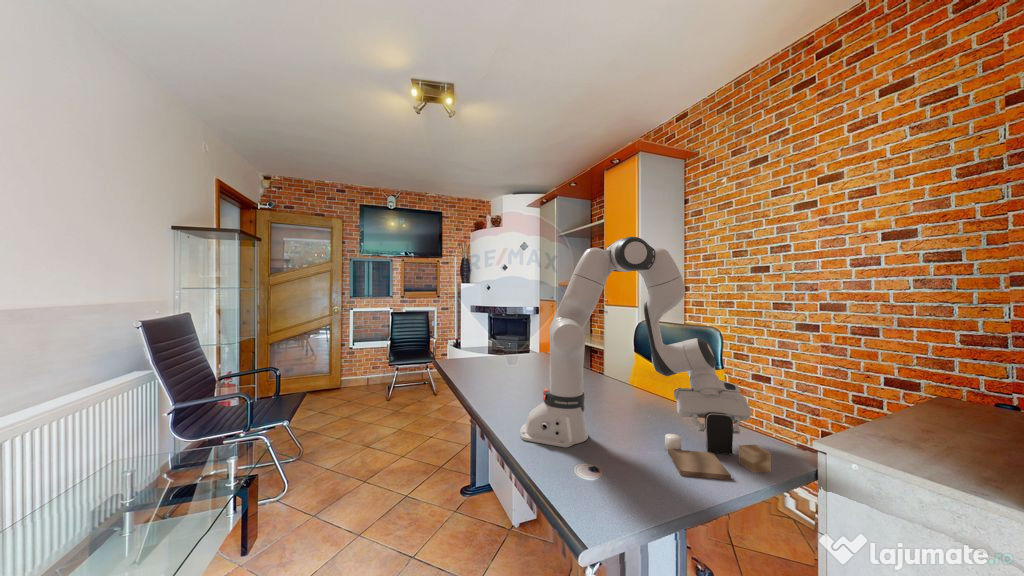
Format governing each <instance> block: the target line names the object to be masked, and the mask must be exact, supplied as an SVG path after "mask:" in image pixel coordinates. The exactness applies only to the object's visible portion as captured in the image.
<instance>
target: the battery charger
mask: <svg viewBox="0 0 1024 576" xmlns="http://www.w3.org/2000/svg"><path fill="white" fill-rule="evenodd" d="M733 426H734V423H733V421H732V418H731V417H730V416H728V415H727V414H725V413H718V412H708V413H706V415H705V418H704V427H705V441H706V442H705V443H706V444H705V447H706V448H705V449H706V452H711V453H713V454H719V455H720V454H721V455H733V440H734V439H733V438H734V434H733Z"/></svg>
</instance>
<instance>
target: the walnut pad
mask: <svg viewBox="0 0 1024 576" xmlns="http://www.w3.org/2000/svg"><path fill="white" fill-rule="evenodd" d="M667 453H668V456H669V457H670V459H671V461H672V462H673V465H674V467H675V469H676V470H677V471H678V474H679V476H687V477H698V478H709V479H716V480H717V479H718V480H730V481H731V480H732V475H731V473H730V472H729V470H727V469H726V467H725V466H724V464H722V462H721V461H720V460H719V458H718V457H717V456H716V455H715V453H712V452H708V451H698V450H685V449H681V450H674V449H668V451H667Z"/></svg>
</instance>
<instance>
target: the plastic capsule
mask: <svg viewBox="0 0 1024 576" xmlns="http://www.w3.org/2000/svg"><path fill="white" fill-rule="evenodd" d="M668 449H674V450H682V437H681V436H680V435H678V434H676V433H675V434H674V433H666V434H665V435H664V450H665V451H667V452H668Z"/></svg>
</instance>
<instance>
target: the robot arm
mask: <svg viewBox="0 0 1024 576" xmlns="http://www.w3.org/2000/svg"><path fill="white" fill-rule="evenodd" d="M612 272H621V273H622V272H623V273H628V272H638V273H639V274H640V276H641V277H642V278H643V281H644V284H645V286H646V289H647V301H646V302H644V304H643V305H644V306H643V313H644V314H643V315H644V319H645V325H646V331H647V336H648V340H649V346H650V352H651V362H652V366H653V368H654V370H655V371H656V372H657V373H658V374H660V375H662V376H664V377H670V376H674V375H677V374H680V373H686V374H687V375H688V377H689V381H688V383H689V385H690V387H686V388H685V387H677V388H676V389H674V390H673V397H674V399H675V400H676V411H677V414H678V415H679V417H684V418H691V422H693V423H694V425H695V427H696V428H697V431H698V432H704V431H706V429H705V423H701V422H700V421H699V419H705V415H706V413H708V412H718V413H725V414H727V415H728V416H730V417H731V418H732V421H733V424H734V425H733V435H734V434H737V435H739V434H740V433H741V430H740V428H739V427H740V423H741V421H744V422H746V421H748V420H749V419H750V418H751V416H752V410H751V408H750V406H749V404H748V401H747V400H746V398H745V397H744V395H743V394H742V393H740V387H739V386H738V385H737V384H734V383H731V382H729V381H728V382H727V381H724V380H722V379H720V378H719V376H718V375H717V373H716V364H717V360H716V357H715V355H714V354H715V353H714V350H713V348H712V346H711V344H710V343H709V342H708V341H706V340H704V339H702V338H699V337H697V338H695V337H694V338H691V339H687V340H683V341H679V342H675V343H670V344H665V343H664V342H663V337H662V332H661V327H660V326H661V325H660V320H661V318H662V317H663V316H664V315H665V314H667V313H668V312H670V311H671V310H672V309H674V308H675V307H676V306H677V305H678V304H679V303H681V301H682V300H683V299H684V297H685V294H686V286H685V283H684V280H683V276H682V275H681V271H680V270H679V267H678V266H677V263H676V261H675V260H674V258H673V257H672V255H671V254H670V252H669V251H668V250H667V249H665V248H661V247H655V248H654V247H652V246H651V245H650V244H649V243H648V242H647V241H646V240H645V239H643V238H641V237H637V236H627V237H625V238H624V237H623V238H620V239H617V240H616V241H615V242H612V243H610V244H609V245H608V246H607V247H606V248H604V249H602V248H600V247H599V248H598V247H591V248H588V249H586V250H585V251H584V252H583V254H582V256H581V257H580V259H579V260H578V262H577V264H576V265H575V268H574V271H573V272H572V275H571V277H570V279H569V282H568V284H567V288H566V290H565V292H564V295H563V297H562V299H561V301H560V302H559V304H558V307H557V310H556V312H555V314H554V316H553V319H552V321H551V322H550V325H549V329H548V333H549V389H548V388H544V390H543V392H542V394H543V398H542V399H543V402H541V403H540V404H538V405H537V406H536V407H533V409H532V410H530V411H529V414H528V416H527V418H526V422H524V424H522V426H521V427H520V430H519V436H520V439H521V440H523V441H526V442H533V443H538V444H544V445H548V446H549V445H550V446H554V447H561V448H569V447H571V446H573V445H576V444H581V443H583V442H585V441H587V440H588V439H589V433H588V431H587V430H588V429H587V425H586V419H585V408H586V406H585V405H586V397H585V393H584V363H585V349H586V348H585V347H586V333H585V330H584V329H585V328H586V325H587V323H588V322H589V320H590V318H591V316H592V314H593V312H594V311H595V309H596V307H597V305H598V302H599V300H600V298H601V296H602V293H603V291H604V289H605V285H606V283H607V280H608V278H609V277H610V275H611V273H612Z"/></svg>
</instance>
